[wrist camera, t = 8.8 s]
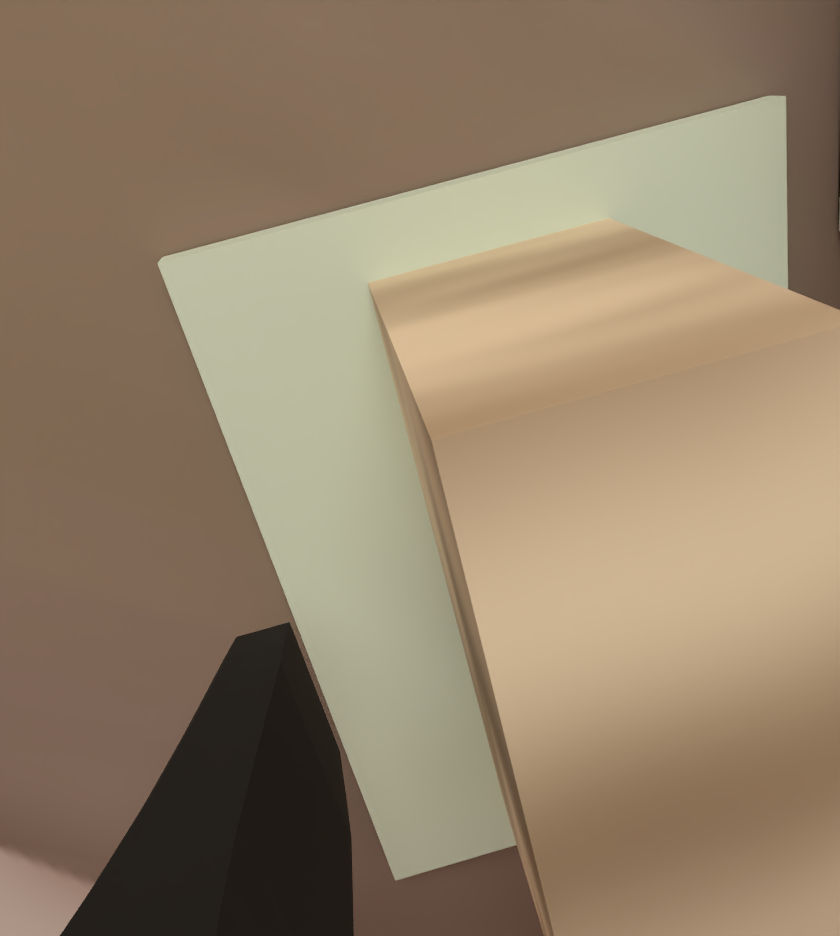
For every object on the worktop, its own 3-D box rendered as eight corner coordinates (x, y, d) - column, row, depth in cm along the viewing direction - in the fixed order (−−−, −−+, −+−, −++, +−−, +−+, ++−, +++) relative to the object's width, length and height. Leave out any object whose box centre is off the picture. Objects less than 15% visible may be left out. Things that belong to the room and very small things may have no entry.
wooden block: (669, 758, 15) (838, 1053, 10) (504, 806, 14) (601, 1125, 10) (608, 218, 10) (866, 320, 6) (368, 282, 10) (431, 439, 5)
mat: (767, 96, 10) (785, 96, 10) (781, 748, 15) (792, 763, 15) (162, 257, 10) (157, 263, 9) (392, 862, 15) (395, 880, 15)
